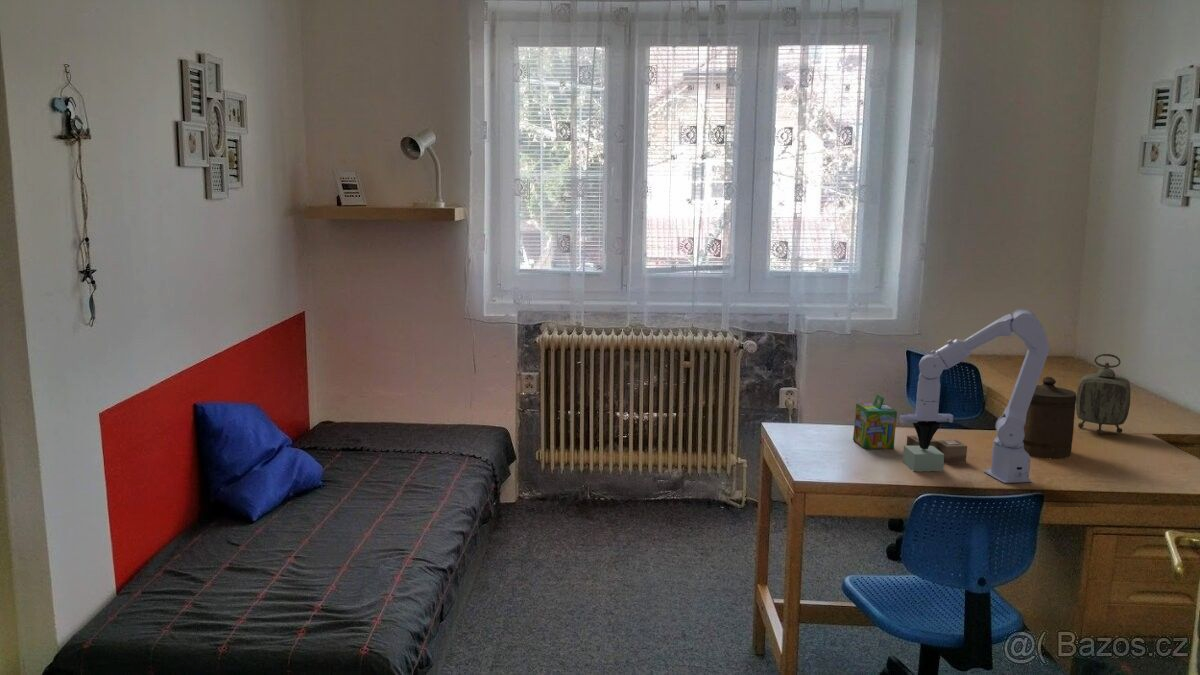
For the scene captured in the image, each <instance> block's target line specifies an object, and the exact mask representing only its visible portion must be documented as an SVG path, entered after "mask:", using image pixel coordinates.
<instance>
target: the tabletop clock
mask: <svg viewBox="0 0 1200 675" xmlns="http://www.w3.org/2000/svg"><path fill="white" fill-rule="evenodd" d="M1101 357H1110V358H1113V359H1116V360H1117V361H1118V363H1117V364H1114V365H1110V363H1109V362H1106V363H1105V364H1101V363H1099V362H1098V361H1097V359H1098V358H1101ZM1094 362H1095V364H1096V366H1099V367H1100V369H1098V370H1097V372H1096V373H1087V374H1085V375H1084V374H1083V376H1082V377H1081V379H1080V381H1079V384H1078V388H1077V392H1076V403H1075V413H1076V415H1077V418H1078V419H1079V420H1081V422H1079V423H1078V424H1077V427H1078V428H1079V429H1082V428H1084V425H1085V423H1086V422H1087V423H1093V424H1098V429H1096V434H1097V433H1098V434H1097V435H1102V434H1103V430H1102V425H1106V426H1107V425H1109V426H1115V427H1116V432H1117V433H1118V434H1122V433H1123V429H1122V427H1120V426H1119V425H1124V424H1125V422H1126V420H1127V418H1128V416H1129V413H1130V412H1129V410H1130V408H1131V407H1130V406H1131V393H1132V392H1131V390H1132V389H1131V383H1130V381H1129V379H1127V378H1125V377H1123V376H1118V375H1116V374H1115V371H1114V370H1113V369H1112V368H1117V367H1118V366H1120V365H1121V359H1120V358H1119V357H1118V356H1117V355H1115V354H1110V353H1101V354H1098V355H1096V356H1095V357H1094Z"/></svg>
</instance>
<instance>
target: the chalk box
mask: <svg viewBox="0 0 1200 675" xmlns="http://www.w3.org/2000/svg"><path fill="white" fill-rule="evenodd" d="M878 400H879V403H878ZM884 400H885V397H883V396H881V395H879V394H876V397H875V399H874V401H873V403H856V404H855V415H854V425H853V436H852V440H853V442H855V443H857V444H858V445H859V446H860V447H862V448H863V449H864V450H875V449H876V450H877V449H879V450H880V449H881V450H884V449H885V450H888V449H889V450H894V448H895V438H896V428H897V427H896V426H897V416H898V415H897V414H898V413H897V409H894V408H892V406H890V405H888V404H887V403H884Z"/></svg>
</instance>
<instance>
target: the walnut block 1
mask: <svg viewBox="0 0 1200 675" xmlns="http://www.w3.org/2000/svg"><path fill="white" fill-rule="evenodd" d="M937 442H938V441H936V439H934V438H933V437H932V439H931V442H930V444H929V446H934V447H935V448H936V449H937ZM905 446H920V445H919V439H918V435H906V444H905Z"/></svg>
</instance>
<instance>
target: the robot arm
mask: <svg viewBox="0 0 1200 675" xmlns="http://www.w3.org/2000/svg"><path fill="white" fill-rule="evenodd" d="M1012 333H1014V334H1015V335H1016V336H1017V337H1018V338H1020V340H1022V341H1023V343H1024V345H1025V346H1026V347H1027V351H1026V354H1025V355H1024V359H1023V362H1022V363H1021V364H1022V365H1021V367H1020V370H1019V372H1018V375H1017V379H1016V381H1015V385H1014V387H1013V390H1012V393H1011V395H1010V398H1009V401H1008V404H1007V406H1006V407H1005V408H1004V410H1003V413H1002V415H1001V416H1000V417H999V418H997V420H996V422H995V426H994V427H995V431H996V432H997V433H996V434H997V436H996V437H995V438H994V439H993V441H992V442H993V444H992V454H991V464H990V469H983V472H984V473H985V474H986V475H989V476H991V477H992V478H994V479H996V480H998V481H1000V482H1001V483H1004V484H1010V483H1011V484H1012V483H1013V484H1014V483H1032V479H1031V478H1030V469H1031V456H1029V454H1028V453H1027V452H1026V451H1025V450H1024V446H1023V445H1024V443H1023V440H1024V436H1025V435H1024V425H1025V422H1026V414H1027V411H1028V408H1029V405H1030V402H1031V400H1032V397H1033V394H1034V391H1035V389H1036V386H1037V385H1038V383H1039V380H1040V377H1041V375H1042V372H1043V370H1044V366H1045V364H1046V361H1047V358H1048V355H1049V353H1050V349H1051V346H1050V343H1049V341H1048V337H1047V334H1046V331H1045V327H1044V325H1043V323H1042V322H1041V321H1040V320H1039V319H1038V317H1037V316H1036V315H1035V314H1034V313H1033V312H1032V311H1031V310H1029V309H1027V308H1019V309H1016V310H1015V311H1013V312H1012V313H1008V314H1005V315H1003V316H1002V317H1000V318H998V319H996V320H994V321H992V322H991V323H990V324H988V325H986V326H984V327H983V328H981V329H980V330H977V332H975V333H973V334H971V335H970V336H968V337H967V338H965V339H960V338H959V339H958V338H955V339H954V340H953V339H949V340H947V344H945V345H943V346H942V347H939V348H938V349H936V350H935V349H933V350H931V351H930V353H931V354H925V355H923V356H922V357H921V359H920V360H919V362H918V369H919V375H918V381H917V391H916V400H915V401H916V402H915V403H916V404H915V413H907V414H900V415H899V418H898V419H899V423H900V424H903V425H906V424H912V425H913V428H914V429H915V431H916V434H917V435H918V439H919V445H920V448H922V449H928V447H929V444H930V442H931V439H932V438H933V437H934V435H935V434H936V433H937V431H939V428H940V424H939V423H945V422H946V423H947V422H948V423H953V422H954V415H953V414H951V413H939V409H940V408H939V405H940V395H941V380H940V379H941V375H942V374H943V371H944V370H949V369H951V368H952V367H954V366H956V365H957V364H960V363H961V362H963V361H966V360H967V359H968V358H970V354H971V351H973V350H974V349H976V348H978V347H980V346H982V345H984V344H986V343H988V342H990V341H992V340H994V339H996V338H998V337H1013V334H1012Z"/></svg>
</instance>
